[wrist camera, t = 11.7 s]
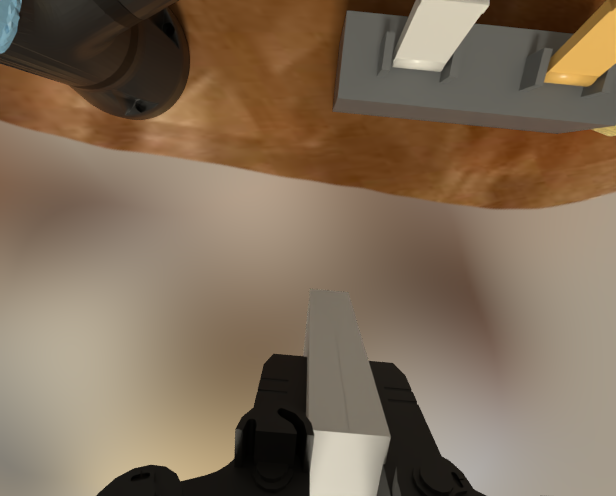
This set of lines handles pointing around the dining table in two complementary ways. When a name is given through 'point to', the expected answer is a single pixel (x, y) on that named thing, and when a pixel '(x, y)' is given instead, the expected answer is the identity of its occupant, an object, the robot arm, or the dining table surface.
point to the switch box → (468, 80)
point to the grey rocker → (435, 32)
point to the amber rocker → (586, 50)
